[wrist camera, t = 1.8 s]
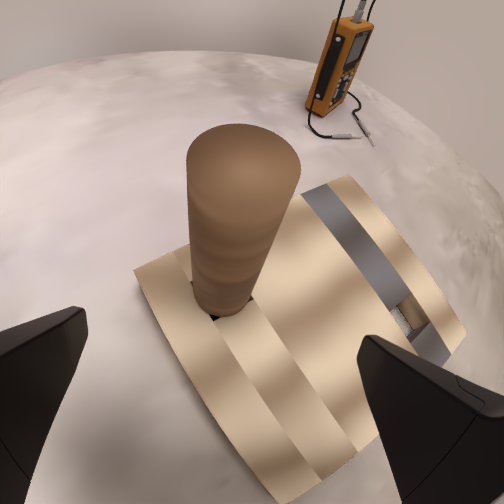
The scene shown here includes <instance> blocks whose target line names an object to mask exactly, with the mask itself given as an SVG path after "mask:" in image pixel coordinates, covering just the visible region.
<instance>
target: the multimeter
mask: <svg viewBox="0 0 504 504" xmlns="http://www.w3.org/2000/svg"><path fill="white" fill-rule="evenodd" d="M344 2H345V0H342V4H341V7H340V10H339V14H338V18H336V19H334V20H333V22H332V25H331V28H330V31H329V34H328V37H327V40H326V43H325V46H324V49H323V52H322V55H321V58H320V61H319V64H318V67H317V70H316V73H315V76H314V80H313V83H312V86H311V89H310V92H309V95H308V98H307V101H306V104H305V107H306V108H308V109H310V110H309V115H308V125H309V127H310V129H311V130H312V131H313V132H314V133H315V134H316V135H318V136H320V137H323V138H350V139H351V138H352V137H363V136H352V135H351V134H338V135H331V136H324V135H320V134H318V133H317V132H316V131H315V130H314V129H313V128H312V126H311V125H310V116H311V111H313V112H315V113H317V114H319V115H320V116H322V117H324V116H325V115H326V114H327V113H328V112H330V111H331V110H332V109H333V108H335V107H336V106H337V105H338V104H340V103H342V102H343V100H344V99H345V96H346V94H347V93H349V94H350V95H352V96H353V97H354V98H355V99H356V100H357V101H358V102H359V105H360V107H359V108H358V109H355V110H353V111H352V113H353V115H354V116H355V117H356V119H357V120H358V122H359V124H360V126H361V127H362V129H363V130H364V132H365V133H366V136H369V138H370V139H371V141H372V142H373V144H374V145H375V143H374V141H373V140H372V138H371V137H370V133H369V132H368V130H367V129H366V127H365V126H364V124H363V123H362V122H361V121H360V120H359V119H358V117H357V116H356V115H355V113H354V112H355V111H358V110H360V109H361V103H360V101H359V100H358V99H357V98H356V97H355V96H354V95H353V94H351V93H350V92H348V89H349V87H350V85H351V82H352V80H353V77H354V75H355V73H356V70H357V68H358V66H359V63H360V61H361V58H362V56H363V53H364V51H365V48H366V46H367V44H368V41H369V39H370V36H371V34H372V31H373V28H374V25H373V24H371V23H369V22H368V20H369V16H370V13H371V10H372V7H373V5H374V3H375V0H373V2H372V4H371V7H370V9H369V12H368V17H367V21H365V20H363V19H361V18H362V15H363V13H364V12H363V10H364V7H365V4H366V0H361V1H360V3H359V6H358V9H357V10H356V11H355V14H354V16H352V17H345V18H340V16H341V12H342V9H343V6H344ZM375 146H376V145H375Z"/></svg>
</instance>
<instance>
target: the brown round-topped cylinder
mask: <svg viewBox="0 0 504 504" xmlns="http://www.w3.org/2000/svg"><path fill="white" fill-rule="evenodd" d="M186 166H187V198H188V220H189V238H190V254H191V268H192V281H193V292H194V297H195V299H196V302H197V303H198V305H199V306H200V307H201V308H202V309H203V310H204V311H206V312H207V313H209V314H211V315H214V316H220V317H226V316H231V315H234V314H236V313H238V312H239V311H241V310H242V309H243V308H244V307H245V306H246V304H247V302H248V300H249V298H250V296H251V293H252V291H253V289H254V286H255V284H256V282H257V279H258V277H259V275H260V272H261V270H262V267H263V265H264V263H265V260H266V258H267V256H268V253H269V251H270V248H271V246H272V244H273V241H274V239H275V237H276V234H277V232H278V229H279V227H280V225H281V222H282V220H283V217H284V215H285V213H286V210H287V208H288V205H289V203H290V200H291V198H292V196H293V193H294V191H295V188H296V186H297V183H298V181H299V178H300V174H301V165H300V161H299V158H298V156H297V154H296V152H295V150H294V149H293V148H292V147H291V145H290V144H289V143H288V142H287V141H286V140H284V139H283V138H282V137H280V136H279V135H277V134H275V133H274V132H271V131H269V130H267V129H264V128H261V127H258V126H254V125H248V124H226V125H221V126H217V127H214V128H211V129H209V130H207V131H205V132H204V133H202V134H200V135H199V136H198V137H197V138H196V139H195V140H194V141H193V142H192V144H191V145H190V147H189V149H188V152H187V159H186Z"/></svg>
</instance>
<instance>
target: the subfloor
mask: <svg viewBox="0 0 504 504" xmlns="http://www.w3.org/2000/svg"><path fill="white" fill-rule="evenodd" d="M133 271H134V273H135V275H136V278H137V280H138V282H139V284H140V286H141V288H142V290H143V292H144V295H145V297H146V299H147V301H148V303H149V305H150V307H151V309H152V311H153V313H154V315H155V317H156V319H157V321H158V322H159V324H160V326H161V328H162V330H163V332H164V334H165V336H166V338H167V339H168V341H169V343H170V345H171V347H172V349H173V350H174V352H175V354H176V356H177V357H178V359H179V361H180V363H181V364H182V366H183V368H184V370H185V371H186V373H187V375H188V376H189V378H190V380H191V381H192V383H193V385H194V386H195V388H196V390H197V391H198V393H199V395H200V396H201V398H202V399H203V401H204V402H205V404H206V406H207V407H208V409H209V410H210V412H211V413H212V415H213V416H214V418H215V419H216V421H217V422H218V424H219V425H220V427H221V428H222V430H223V431H224V433H225V434H226V436H227V437H228V439H229V440H230V441H231V443H232V444H233V446H234V447H235V448H236V450H237V451H238V453H239V454H240V455H241V457H242V458H243V459H244V461H245V462H246V463H247V465H248V466H249V467H250V469H251V470H252V471H253V473H254V474H255V475H256V477H257V478H258V479H259V480H260V482H261V483H262V484H263V485H264V487H265V488H266V489H267V490H268V492H269V493H270V494H271V495H272V496H273V498H274V499H275V500H276V501H277V502H278V504H288V503H290V502H291V501H293V500H295V499H296V498H298V497H299V496H301V495H302V494H304V493H305V492H307V491H308V490H310V489H311V488H313V487H314V486H316V485H317V484H318V483H320V482H321V481H323V480H324V479H325V478H327V477H328V476H329V475H331V474H332V473H333V472H335V471H336V470H337V469H339V468H340V467H341V466H342V465H344V464H345V463H346V462H347V461H349V460H350V459H351V458H352V457H354V456H355V455H356V454H357V453H358V452H360V451H361V450H362V449H363V448H364V447H365V446H367V445H368V444H369V443H370V442H371V441H372V440H373V439H374V438H375V437H377V436H378V435H379V432H378V429H377V427H376V424H375V421H374V418H373V416H372V413H371V410H370V407H369V405H368V402H367V399H366V396H365V392H364V388H363V384H362V380H361V377H360V373H359V369H358V365H357V360H356V359H357V354H358V351H359V348H360V345H361V342H362V340H363V338H364V336H365V335H378V336H380V337H382V338H384V339H386V340H388V341H390V342H392V343H394V344H396V345H397V346H399V347H401V348H403V349H405V350H407V351H409V352H411V353H413V354H415V355H417V356H419V357H421V358H423V359H425V360H427V361H429V362H431V363H433V364H435V365H437V366H439V367H442V366H443V365H444V363H445V362H446V361H447V360H448V358H449V357H450V356H451V354H452V353H453V352H454V350H455V349H456V348H457V346H458V345H459V344H460V342H461V341H462V339H463V338H464V337H465V335H466V334H467V332H466V330H465V329H464V327H463V325H462V324H461V322H460V320H459V319H458V317H457V315H456V314H455V312H454V311H453V309H452V307H451V306H450V304H449V303H448V301H447V300H446V298H445V297H444V295H443V294H442V292H441V290H440V289H439V288H438V286H437V285H436V283H435V282H434V280H433V279H432V277H431V276H430V274H429V273H428V272H427V270H426V269H425V267H424V266H423V264H422V263H421V262H420V260H419V259H418V258H417V256H416V255H415V254H414V252H413V251H412V249H411V248H410V247H409V245H408V244H407V243H406V242H405V240H404V239H403V238H402V236H401V235H400V234H399V232H398V231H397V230H396V229H395V227H394V226H393V225H392V224H391V222H390V221H389V220H388V219H387V217H386V216H385V215H384V214H383V213H382V211H381V210H380V209H379V208H378V207H377V205H376V204H375V203H374V202H373V201H372V199H371V198H370V197H369V196H368V195H367V194H366V193H365V191H364V190H363V189H362V188H361V187H360V186H359V185H358V183H357V182H356V181H355V180H354V179H353V178H352V177H351V176H350V175H349V174H348V175H346V176H343V177H341V178H338V179H336V180H334V181H331V182H329V183H326V184H324V185H321V186H319V187H317V188H314V189H312V190H309V191H307V192H305V193H302V194H300V195H298V196H295V197H293V198H291V200H290V203H289V205H288V208H287V210H286V213H285V215H284V217H283V220H282V222H281V225H280V227H279V229H278V232H277V234H276V237H275V239H274V241H273V244H272V246H271V248H270V251H269V253H268V256H267V258H266V260H265V263H264V265H263V267H262V270H261V272H260V275H259V277H258V279H257V282H256V284H255V286H254V289H253V291H252V293H251V296H250V298H249V300H248V302H247V304H246V306H245V307H244V308H243V309H242V310H241V311H239V312H238V313H236V314H234V315H231V316H226V317H221V318H219V319H217V320H215V321H212V319H211V317H210V316H209V314H208V313H207V312H206V311H204V310H203V309H202V308H201V307H200V306H199V305H198V303H197V302H196V299H195V297H194V292H193V281H192V268H191V254H190V244H187V245H185V246H183V247H181V248H179V249H177V250H175V251H172V252H170V253H168V254H166V255H164V256H162V257H160V258H158V259H156V260H154V261H151V262H149V263H147V264H145V265H143V266H141V267H139V268H137V269H135V270H133ZM396 305H397V306H398V308H399V309H400V311H401V312H402V314H403V315H404V317H405V318H406V320H407V321H408V323H409V324H410V326H411V327H412V329H413V331H412V332H411V333H410V334H409V335H408V336H407V337H406V336H405V335H404V333H403V332H402V330H401V329H400V327H399V326H398V324H397V323H396V321H395V320H394V318H393V317H392V315H391V314H390V311H391V310H392V309H393V308H394V307H395V306H396Z"/></svg>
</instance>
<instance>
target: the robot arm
mask: <svg viewBox="0 0 504 504" xmlns="http://www.w3.org/2000/svg"><path fill="white" fill-rule="evenodd" d="M87 337H88V326H87V319H86V312H85V310H84V308H81V307H76V306H71V307H69V308H66V309H63V310H60V311H57V312H54V313H51V314H49V315H46V316H43V317H40V318H37V319H34V320H32V321H29V322H26V323H23V324H20V325H17V326H15V327H12V328H9V329H6V330H3V331H1V332H0V504H24V502H25V499H26V496H27V492H28V489H29V486H30V483H31V482H30V481H31V479H32V476H33V473H34V470H35V467H36V465H37V462H38V459H39V456H40V454H41V451H42V448H43V446H44V443H45V440H46V438H47V435H48V433H49V430H50V428H51V425H52V423H53V421H54V418H55V416H56V414H57V411H58V409H59V407H60V404H61V402H62V400H63V398H64V395H65V393H66V391H67V389H68V387H69V385H70V382H71V380H72V378H73V376H74V373H75V371H76V368H77V365H78V362H79V359H80V357H81V354H82V351H83V348H84V346H85V343H86V340H87ZM356 360H357V365H358V369H359V373H360V377H361V380H362V384H363V388H364V392H365V396H366V399H367V402H368V405H369V407H370V410H371V413H372V416H373V418H374V421H375V424H376V427H377V429H378V432H379V435H380V438H381V441H382V444H383V446H384V449H385V452H386V455H387V458H388V461H389V464H390V467H391V470H392V473H393V476H394V479H395V482H396V486H397V489H398V492H399V495H400V498H401V501H402V504H504V396H503V395H500V394H498V393H495V392H493V391H490V390H488V389H486V388H483V387H481V386H479V385H476V384H474V383H472V382H470V381H468V380H466V379H463V378H461V377H459V376H457V375H455V374H453V373H451V372H449V371H447V370H445V369H443V368H441V367H439V366H437V365H435V364H433V363H431V362H429V361H427V360H425V359H423V358H421V357H419V356H417V355H415V354H413V353H411V352H409V351H407V350H405V349H403V348H401V347H399V346H397V345H396V344H394V343H392V342H390V341H388V340H386V339H384V338H382V337H380V336H378V335H365V336H364V338H363V340H362V342H361V345H360V348H359V351H358V354H357V359H356Z"/></svg>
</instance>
